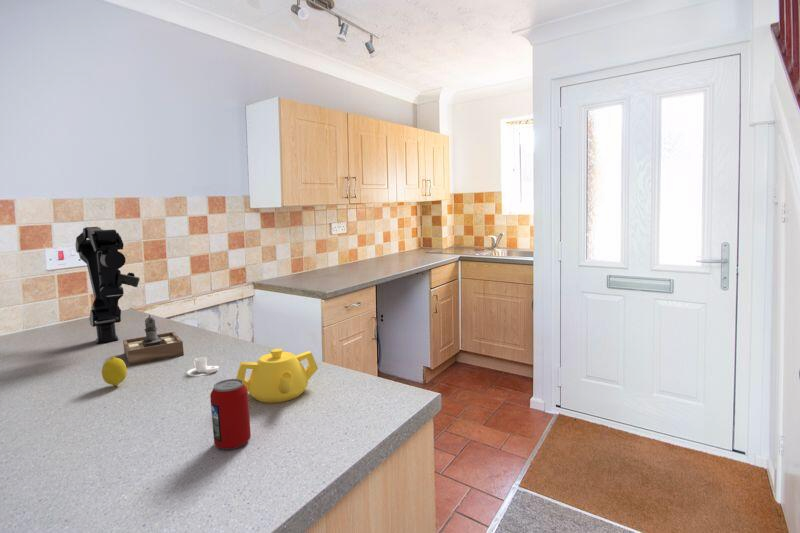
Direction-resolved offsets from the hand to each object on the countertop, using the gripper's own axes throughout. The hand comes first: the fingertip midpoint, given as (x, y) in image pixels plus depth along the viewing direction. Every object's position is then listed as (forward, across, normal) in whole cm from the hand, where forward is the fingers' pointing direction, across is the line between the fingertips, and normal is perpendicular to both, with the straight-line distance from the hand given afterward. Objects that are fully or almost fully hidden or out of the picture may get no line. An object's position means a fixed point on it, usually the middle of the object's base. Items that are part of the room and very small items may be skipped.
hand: (113, 313), depth 151 cm
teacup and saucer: (+14, -44, -17) cm, 50 cm away
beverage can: (+15, -89, -15) cm, 91 cm away
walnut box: (+12, -15, -9) cm, 22 cm away
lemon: (+13, -39, +2) cm, 42 cm away
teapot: (+15, -73, -31) cm, 80 cm away
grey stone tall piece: (+12, -15, -9) cm, 21 cm away
